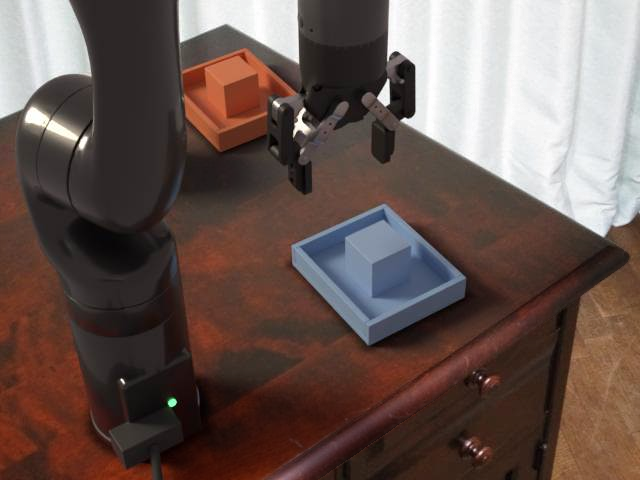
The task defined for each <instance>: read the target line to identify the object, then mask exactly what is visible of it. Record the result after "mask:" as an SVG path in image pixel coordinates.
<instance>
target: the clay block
mask: <svg viewBox="0 0 640 480" xmlns="http://www.w3.org/2000/svg"><path fill="white" fill-rule="evenodd" d="M205 77H206V86H207V96H208V100H209V101H210V102H211V103H212V104H213V105H214V106H215V107H216V108H217V109H218V110H219V111H220V112H221V113H222V114H223V115H224V116H225V117H226V118H229V117H232V116H234V115H237V114H240V113H242V112H245V111H247V110H250V109H252V108H255V107H258V106H260V95H259V80H258V73H257V72H256V71H255V70H254V69H253V68H252V67H251V66H249V65H248V64H247V63H246V62H245V61H244V60H243V59H242V58H241V57H240V56H235V57H233V58H230V59H227V60H224V61H222V62H219V63H216V64H213V65H211V66H208V67H205Z"/></svg>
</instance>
